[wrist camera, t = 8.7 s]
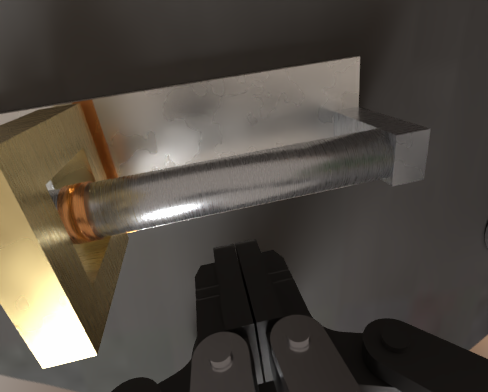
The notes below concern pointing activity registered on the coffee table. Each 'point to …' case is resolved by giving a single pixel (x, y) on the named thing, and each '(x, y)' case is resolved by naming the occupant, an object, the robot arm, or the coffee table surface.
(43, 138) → the gold rectangular block
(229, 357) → the robot arm
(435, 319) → the coffee table surface
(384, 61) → the coffee table surface
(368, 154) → the rail stand
